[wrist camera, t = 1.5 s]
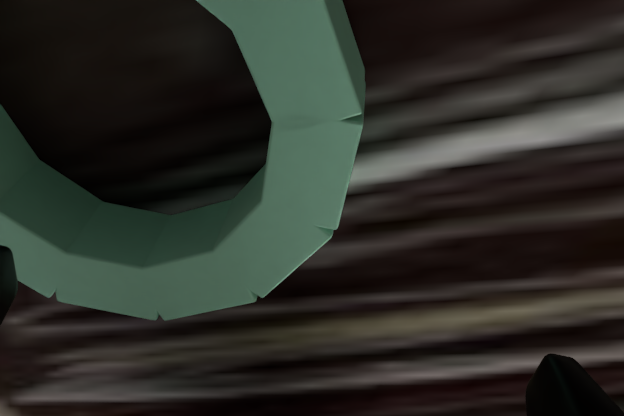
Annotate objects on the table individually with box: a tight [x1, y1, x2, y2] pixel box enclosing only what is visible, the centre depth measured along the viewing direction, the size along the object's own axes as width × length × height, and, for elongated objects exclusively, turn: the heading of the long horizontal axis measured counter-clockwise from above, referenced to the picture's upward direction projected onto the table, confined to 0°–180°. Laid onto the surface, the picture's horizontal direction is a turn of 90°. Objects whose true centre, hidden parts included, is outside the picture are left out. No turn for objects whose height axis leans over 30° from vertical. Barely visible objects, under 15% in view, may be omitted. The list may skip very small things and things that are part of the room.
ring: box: [0, 0, 366, 321], centre depth 14 cm, size 12×12×3 cm
